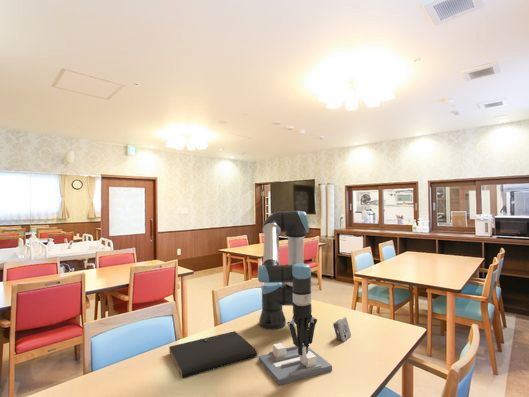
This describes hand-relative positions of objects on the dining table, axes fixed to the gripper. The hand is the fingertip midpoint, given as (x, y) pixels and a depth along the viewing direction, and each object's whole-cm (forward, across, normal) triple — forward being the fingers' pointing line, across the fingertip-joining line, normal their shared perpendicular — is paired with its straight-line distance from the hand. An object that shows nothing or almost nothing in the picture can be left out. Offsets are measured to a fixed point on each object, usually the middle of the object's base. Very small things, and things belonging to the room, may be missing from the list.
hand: (303, 362), depth 122 cm
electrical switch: (+4, +34, +19) cm, 39 cm away
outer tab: (+2, +3, 0) cm, 3 cm away
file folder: (+5, -30, +29) cm, 42 cm away
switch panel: (+4, -1, +6) cm, 7 cm away
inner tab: (+2, -5, +12) cm, 13 cm away
